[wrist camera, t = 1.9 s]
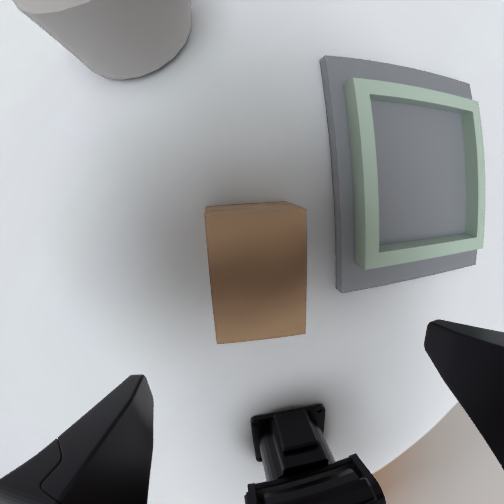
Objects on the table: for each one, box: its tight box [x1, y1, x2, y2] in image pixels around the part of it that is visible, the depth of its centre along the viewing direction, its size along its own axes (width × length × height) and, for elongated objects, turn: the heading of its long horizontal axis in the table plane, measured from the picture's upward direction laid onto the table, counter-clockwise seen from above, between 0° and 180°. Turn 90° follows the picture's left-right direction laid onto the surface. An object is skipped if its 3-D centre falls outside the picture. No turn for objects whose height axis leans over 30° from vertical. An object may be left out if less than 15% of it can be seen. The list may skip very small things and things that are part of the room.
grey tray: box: [320, 56, 485, 293], centre depth 19 cm, size 16×14×2 cm
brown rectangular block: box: [205, 202, 307, 344], centre depth 18 cm, size 7×5×4 cm
